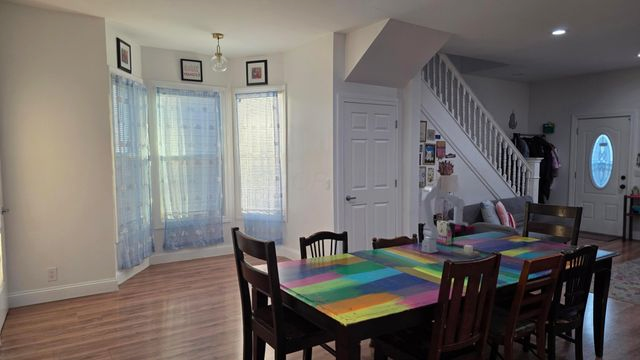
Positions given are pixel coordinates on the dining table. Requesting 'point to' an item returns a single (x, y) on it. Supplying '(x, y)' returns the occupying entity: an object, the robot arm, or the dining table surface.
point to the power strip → (461, 253)
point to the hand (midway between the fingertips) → (457, 234)
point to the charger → (468, 249)
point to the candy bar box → (444, 233)
